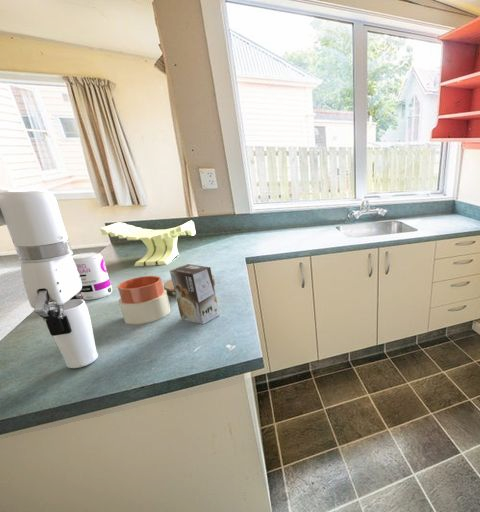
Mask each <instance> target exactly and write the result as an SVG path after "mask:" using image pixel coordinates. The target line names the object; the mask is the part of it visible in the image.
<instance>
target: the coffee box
mask: <svg viewBox="0 0 480 512" xmlns="http://www.w3.org/2000/svg"><path fill="white" fill-rule="evenodd" d="M169 273H170V279H172V282H173V287H174V291H175V295H176V297H175V299H176V303H177V307H178V311H179V315H180V320H182V321H186V322H191V323H196V324H201V325H204V324H205V325H206V324H207V323H209V322H210V321H211V320H213V319H215V318H217V317H219V316H220V312H219V305H218V301H217V295H216V290H215V286H214V284H213V279H212V275H213V274H212V267H211V266H203V265H199V264H190V263H187V264H184V265H181V266H179V267H176V268H174V269H171V270H169Z"/></svg>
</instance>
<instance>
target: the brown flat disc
mask: <svg viewBox="0 0 480 512" xmlns="http://www.w3.org/2000/svg"><path fill="white" fill-rule="evenodd" d="M212 279H213V284H214V287H215V286H216V281H215V277H214V275H213V274H212ZM163 289H165V290H166V291H167V295H168V297H171V298H176V295H175V291H174V287H173V282H172V278H170V279H168V280H167V281H166V282H164V283H163Z"/></svg>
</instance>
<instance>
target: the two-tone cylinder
mask: <svg viewBox="0 0 480 512" xmlns="http://www.w3.org/2000/svg"><path fill="white" fill-rule="evenodd" d="M163 289H164V288H163ZM118 305H119V309H120V312H121V315H122V318H123V321H124V323H125V324H128V325H143V324H148V323H151V322H155V321H158V320H161V319H162V318H164V317H166V316H168V315H169V314H170V313H171V311H172V309H171V303H170V300H169V296H168V295H167V291H166V290H165V289H164V293H163V295H161V296H159V297H158V298H155V299H153V300H149V301H146V302H141V303H134V304H127V303H123V302H122V301H121V298H120V297H119V299H118Z"/></svg>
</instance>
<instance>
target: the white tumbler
mask: <svg viewBox="0 0 480 512" xmlns="http://www.w3.org/2000/svg"><path fill="white" fill-rule="evenodd" d="M56 303H57V302H55V303H53V304H56ZM63 305H64V316H67V318H68V321H69V324H70V327H71V330H72V331H71V333H69V334H62V335H56V336H52V335H51V337H52V339H53V341H54V342H55V345H56V346H57V348H58V350H59V352H60V354H61V356H62V358H63V360H64V362H65V365H66V366H67V368H69V369H78V368H79V369H80V368H83V367H86V366H89V365H91V364H92V363H95V361H96V360H97V359H98V357H99V353H98V350H97V346H96V341H95V336H94V330H93V325H92V320H91V315H90V311H89V308H88V306H87V304H86V301H85V299H83V300H81V299H73V300H68V301H67V302H66V303H64V304H63ZM50 310H54V311H56V312H57V307H52V308H50ZM44 322H45V325H46V328H48V326H47V323H46V321H44Z"/></svg>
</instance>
